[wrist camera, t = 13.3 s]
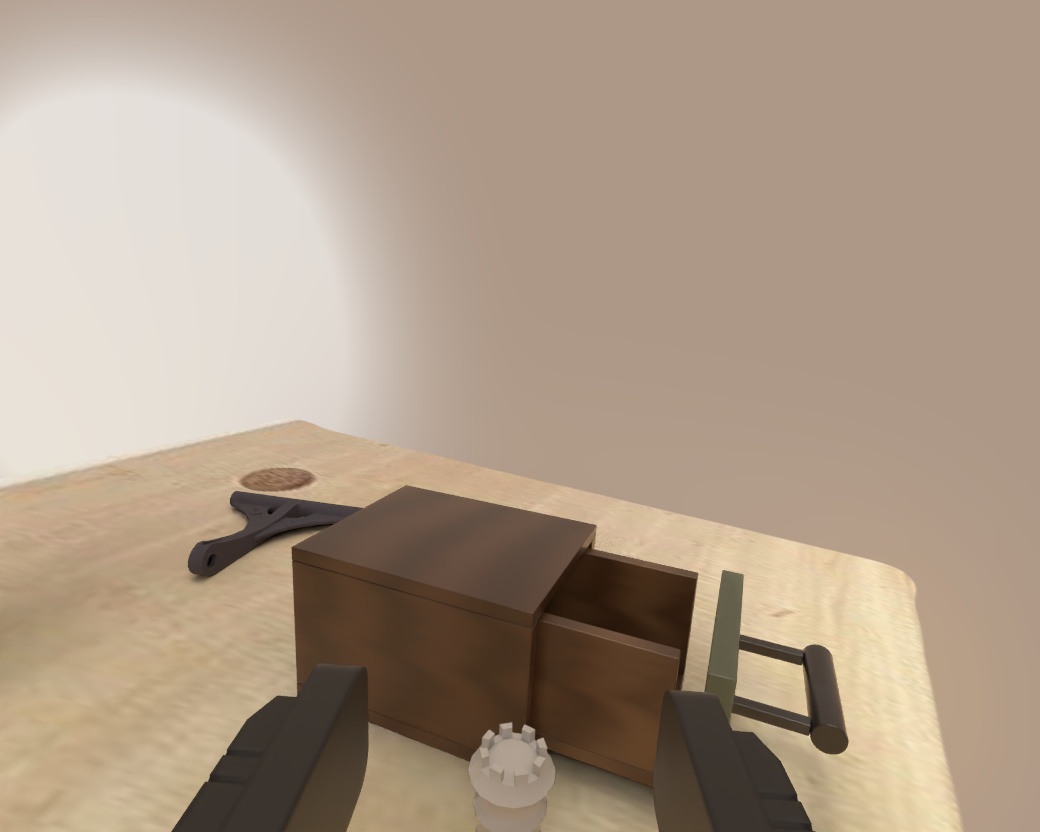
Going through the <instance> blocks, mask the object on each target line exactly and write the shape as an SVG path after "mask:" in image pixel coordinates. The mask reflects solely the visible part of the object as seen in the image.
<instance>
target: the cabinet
mask: <svg viewBox="0 0 1040 832" xmlns="http://www.w3.org/2000/svg"><path fill="white" fill-rule="evenodd" d="M595 536H596V525H594V524H589V523H584V522H579V521H574V520H570V519H565V518H560V517H555V516H550V515H546V514H541V513H536V512H531V511H526V510H522V509H517V508H512V507H507V506H503V505H498V504H493V503H488V502H483V501H479V500H474V499H469V498H464V497H459V496H455V495H450V494H445V493H440V492H435V491H431V490H426V489H421V488H416V487H412V486H407V485H406V486H404V487H402V488H400V489H398V490H397V491H395V492H393V493H391V494H389V495H387V496H385V497H384V498H382V499H380V500H378V501H376V502H374V503H372V504H371V505H369V506H367V507H365V508H363V509H361V510H360V511H358V512H356V513H354V514H352V515H350V516H348V517H347V518H345V519H343V520H341V521H339V522H337V523H335V524H334V525H332V526H330V527H328V528H326V529H324V530H322V531H321V532H319V533H317V534H315V535H313V536H311V537H309V538H308V539H306V540H304V541H302V542H300V543H298V544H297V545H295V546H293V547H292V560H293V561H292V566H293V591H294V616H295V642H296V667H297V693H298V694H299V692H300V690H301V689H302V687H303V685H304V684H305V682H306V680H307V679H308V677H309V675H310V674H311V672H312V670H313V669H314V667H315V666H316V665H317V664H319V663H323V664H337V665H350V666H364V667H366V669H367V674H368V721H369V722H371V723H374V724H376V725H379V726H381V727H384V728H387V729H389V730H392V731H394V732H397V733H399V734H402V735H404V736H407V737H410V738H412V739H415V740H417V741H420V742H422V743H425V744H428V745H430V746H433V747H435V748H438V749H440V750H443V751H445V752H448V753H451V754H453V755H456V756H458V757H461V758H463V759H466V760H469V761H471V758H472V755H473V754H474V753H475V752H476V751H477V750H478V748H479V747H480V746H481V745H482V737H483V736H484V735H485V734H486V733H487V731H488V730H491V731H492V732H493V733H495V736H496V735H498V734H499V728H500V724H504V723H511V722H512V732H513V733H519V734H522V728H523V726H524V724H525V725H527V726H529V727H530V722H531V708H532V693H533V678H534V664H535V649H536V634H537V620H538V619H539V617H540V616H541V614H542V613H543V611H544V610H545V608H546V607H547V606H548V604H549V603H550V601H551V600H552V598H553V597H554V595H555V594H556V592H557V591H558V590H559V588H560V587H561V585H562V584H563V582H564V581H565V579H566V578H567V576H568V575H569V574H570V572H571V571H572V569H573V568H574V566H575V565H576V563H577V562H578V560H579V559H580V558H581V556H582V555H583V553H584V552H585V550H586V549H587V548H590V549H594V547H595ZM495 736H494V737H495Z"/></svg>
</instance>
